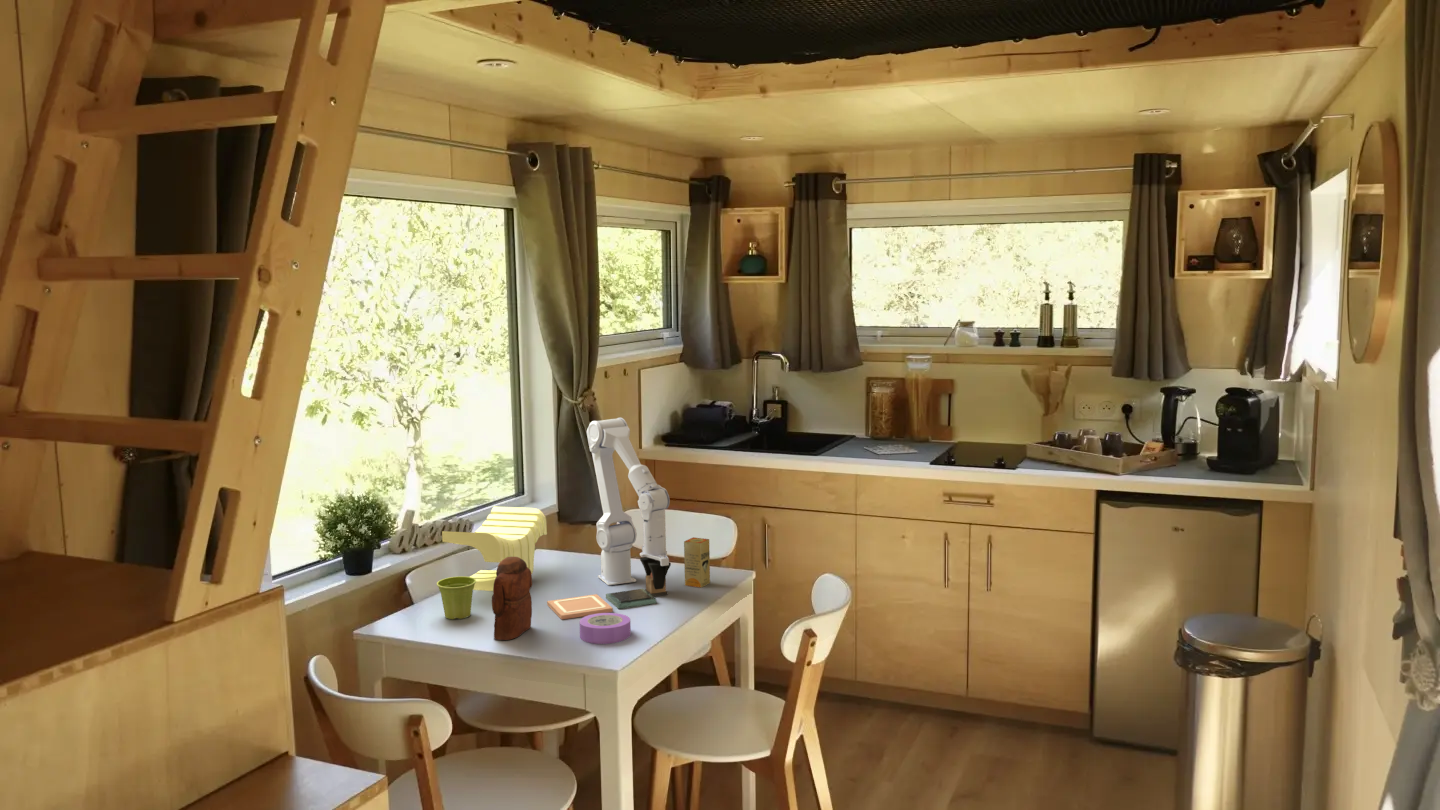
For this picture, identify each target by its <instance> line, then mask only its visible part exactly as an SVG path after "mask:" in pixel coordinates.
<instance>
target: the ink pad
mask: <svg viewBox="0 0 1440 810" xmlns="http://www.w3.org/2000/svg"><path fill="white" fill-rule="evenodd" d="M605 599H606V600H607V601H608V602H609V603H611V604H612V605H613V606H614V607H616V609H618V610H621V609H629V608H633V607H641V606H642V605H643V606H649V604H650V605H655V604H657V599H656V598H655V597H653V596H652V595H650V594H649V593H648V592H646V591H645V589H643V588H637V589H631V590H630V589H629V590H625V591H624V590H623V591H617V592H609V593H605Z"/></svg>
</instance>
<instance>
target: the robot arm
mask: <svg viewBox="0 0 1440 810" xmlns="http://www.w3.org/2000/svg"><path fill="white" fill-rule="evenodd" d="M630 435H631V429H630V427H629V425H628V423H627V421H626V420H625V419H624V418H623V417H617V418H610V419H602V420H592V421H591V422H589V425H588V427H587V430H586V436H587V442H588V446H589V447H588V448H589V452H591V455H592V461H593V465H594V471H595V475H596V476H595V478H596V482H597V486H598V487H597V488H598V492H599V498H600V503H601V509H602V513H603V515H602V516H601V517H600V518H599V519H598V520H597V522H596V523H595V524H596V537H595V538H596V542H597V544H598V546H599V548H601V553H600V574H598V575H597V578H599V580H601V581H603V582H604V583H605V584H606V585H607V586H614V585H622V584H628V583H635V582H636V583H637V579H635V578H634V577H633V576H632V565H631V563H632V562H631V548H633V546H634V545H633V544H634V543H635V542H636V541H637V529H636V526H635V525H634V522H633V520H632V516H631V515H629V514H628V513H626V512H625V511H624V510H623V506H622V501H621V495H620V489H619V483H618V478H617V473H616V468H615V464H614V458H613V454H614V452H616V453H617V454H618V456H619V457H620V459H621V461H623V463H624V465H625V467H626V469H627V470H628V474H627V477H628V480H629V482H630V483H631V485H632V487H633V489H634V490H635V492H636V494H637V496H638V500H637V506H638V508H639V510H640V516H641V519H642V523H643V524H642V525H643V527H642V528H643V529H642V530H643V545H642V546H641V552H640V553H639V556H640V558H639V560H640V561H639V562H641V564H642V566H643V569H644V572H645V577H646V576H649V575H651V572H652V576H653V583H654V587H655V589H663V587H664V582H665V578H666V577H667V575H668V574H667V573H668V572H669V569H670V567H672V566H671V565H672V564H671V562H670V558H669V557H668V551H667V541H666V540H667V539H666V538H667V535H666V534H667V533H666V510H668V508H669V507H670V495H669V493H668V490H667V489H666V488H665V487H662V486H661V485H660V484H658V483H657V481H656V479H655V477H654V476H653V474H652V473H651V471H650V469H649V467H648V466H647V465H645V464H642V463H641V462H640V459H639V457H638V455H637V453H636V450H635V449H634V446H633V444H632V442H631V440H630ZM615 523H617V524H615ZM611 524H612V525H611ZM666 579H667V578H666Z"/></svg>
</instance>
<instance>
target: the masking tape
mask: <svg viewBox="0 0 1440 810" xmlns="http://www.w3.org/2000/svg"><path fill="white" fill-rule="evenodd" d="M631 633H632V631H631V618H630V617H629V616H628V615H626V614H622V613H615V612H609V613H598V614H592V615H588V616H582V618H581V619H579V638H580V639H581V641H583V642H586V643H589V644H597V645H601V644H602V645H606V644H615V643H619V642H623V641H624V640H627V639H629V638H630V637H631Z"/></svg>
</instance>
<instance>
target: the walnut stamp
mask: <svg viewBox="0 0 1440 810" xmlns="http://www.w3.org/2000/svg"><path fill="white" fill-rule="evenodd" d="M666 579H667V578H665V582H664V587H663V589H655V587H654V583H653V576H652V572H651V575H649V576H646V575H645V589H644V590H645V591H646V592H648V593H649V594H650V595H652V596H653V597H654V598H655V597H662V596H667V595H668V594H669V593H668V591H667V583H666V582H667V581H666Z"/></svg>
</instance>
